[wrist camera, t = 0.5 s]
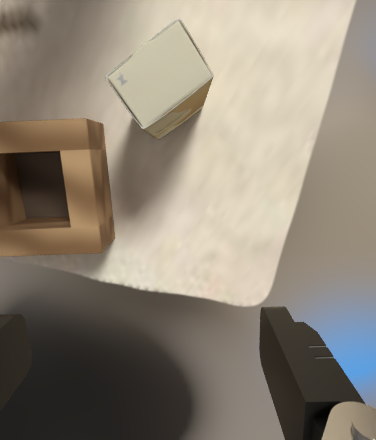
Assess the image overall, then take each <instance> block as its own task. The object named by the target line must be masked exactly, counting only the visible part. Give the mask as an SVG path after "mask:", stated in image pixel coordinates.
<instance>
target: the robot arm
mask: <svg viewBox="0 0 376 440" xmlns="http://www.w3.org/2000/svg"><path fill="white" fill-rule="evenodd" d="M259 349H260V359H261V365H262V368H263V372H264V375H265V378H266V381H267V384H268V387H269V390H270V394H271V397H272V400H273V403H274V406H275V409H276V412H277V416H278V419H279V422H280V425H281V428H282V431H283V434H284V437H285V440H376V409H375V408H373V407H371V406H369V405H366V404H365V402H364V401H363V399H362V398H361V397H360V395H359V394H358V392H357V391H356V389H355V388H354V386H353V385H352V383H351V382H350V380H349V379H348V377H347V376H346V374H345V373H344V371H343V370H342V368H341V367H340V365H339V364H338V362H337V361H336V359H334V358H333V355H332V353H331V352H330V350H329V349H328V348H326V345H325V343H324V341H323V340H322V338H321V337H320V335H319V334H318V332H316V331H315V330H314V329H312V328H311V327H310V326H308V325H307V324H306V323H304V322H294V320H293V319H292V317H291V315H290V313H289V312H288V310H287V309H286V307H262V308H261V314H260V346H259ZM31 362H32V351H31V346H30V341H29V337H28V332H27V328H26V324H25V319H24V317H23V316H22V315H20V314H9V315H8V314H7V315H0V411H1V410H2V408H3V407H4V405H5V404H6V402H7V401H8V399H9V398H10V397H11V395H12V394H13V393H14V391H15V390H16V388H17V387H18V386H19V384H20V383H21V381H22V380H23V379H24V377H25V376H26V374H27V373H28V371H29V368H30V366H31Z"/></svg>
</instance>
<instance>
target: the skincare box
mask: <svg viewBox="0 0 376 440" xmlns="http://www.w3.org/2000/svg"><path fill="white" fill-rule="evenodd" d="M213 76H214V75H213V73H212V71H211V69H210V68H209V66H208V64H207V62H206V61H205V59H204V57H203V55H202V53H201V52H200V50H199V48H198V47H197V45H196V43H195V42H194V40H193V38H192V36H191V35H190V33H189V32H188V30H187V28H186V27H185V25H184V23H183V22H182V20H181V19H176V20H174V21H173V22H172V23H171V24H169V25H168V26H167V27H166V28H164V29H163V30H162V31H160V32H159V33H158V34H157V35H155V36H154V37H153V38H152V39H150V40H149V41H148V42H146V43H145V44H144V45H143V46H141V47H140V48H139V49H138V50H137V51H135V52H134V53H133V54H132V55H131V56H129V57H128V58H127V59H126V60H124V61H123V62H122V63H121V64H120V65H118V66H117V67H116V68H115V69H113V70H112V71H111V72H110V73H108V74H107V75H106V79H107V81H108V82H109V84H110V85H111V87H112V88H113V90H114V91H115V93H116V94H117V96H118V97H119V99H120V100H121V101H122V103H123V104H124V106H125V107H126V109H127V110H128V111H129V113H130V114H131V115H132V117H133V118H134V119H135V121H136V122H137V123H138V125H139V126H140V127H141V128H142V129H143V130H144V131H146V132H147V133H149V134H150V135H152V136H153V137H155V138H157V139H161V138H162V137H164V136H165V135H167V134H168V133H170V132H171V131H173V130H174V129H176V128H177V127H178V126H180V125H181V124H182V123H184V122H185V121H186V120H188V119H189V118H190V117H191V116H193V115H194V114H195V113H196V112H198V111H199V110H200V109H202V108H203V106H204V103H205V100H206V97H207V94H208V91H209V88H210V85H211V82H212V79H213Z"/></svg>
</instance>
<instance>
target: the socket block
mask: <svg viewBox="0 0 376 440" xmlns="http://www.w3.org/2000/svg"><path fill="white" fill-rule="evenodd" d="M41 152H51V153H41ZM16 153H27V154H16ZM52 217H53V218H52ZM114 238H115V233H114V223H113V214H112V204H111V195H110V185H109V176H108V166H107V157H106V147H105V138H104V128H103V124H102V123H99V122H95V121H92V120H89V119H86V118H83V119H60V120H37V121H14V122H0V256H29V255H59V254H88V253H102V252H103V251H104V250H105V248H106V247H107V246H108V245H109V244H110V243H111V242H112V240H113V239H114Z"/></svg>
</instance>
